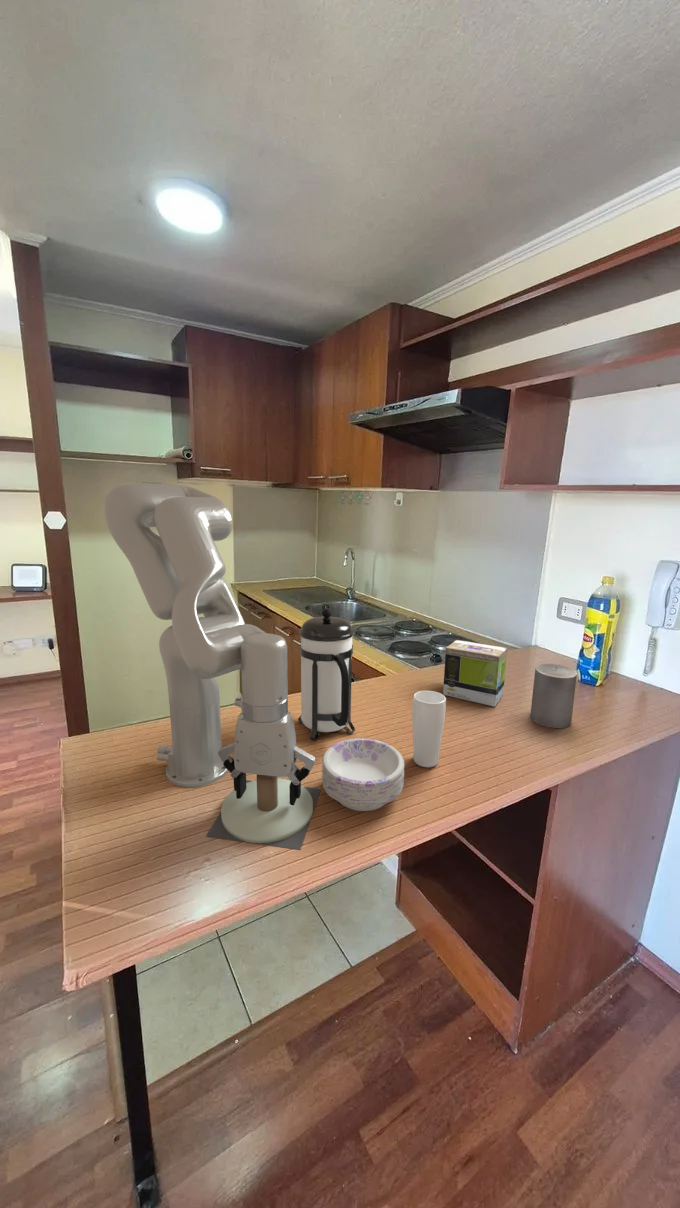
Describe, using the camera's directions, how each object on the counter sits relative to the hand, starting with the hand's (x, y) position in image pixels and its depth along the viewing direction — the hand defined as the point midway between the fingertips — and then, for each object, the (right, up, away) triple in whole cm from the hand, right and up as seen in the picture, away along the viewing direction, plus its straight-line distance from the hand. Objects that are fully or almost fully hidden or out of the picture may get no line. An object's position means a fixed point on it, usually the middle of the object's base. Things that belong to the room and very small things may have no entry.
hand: (267, 797), depth 81 cm
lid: (0, -3, +1) cm, 3 cm away
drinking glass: (+31, 0, +18) cm, 36 cm away
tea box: (+51, +7, +52) cm, 73 cm away
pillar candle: (+67, +4, +38) cm, 77 cm away
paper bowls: (+17, -2, +6) cm, 18 cm away
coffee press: (+10, +3, +31) cm, 33 cm away
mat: (0, -3, +1) cm, 3 cm away
